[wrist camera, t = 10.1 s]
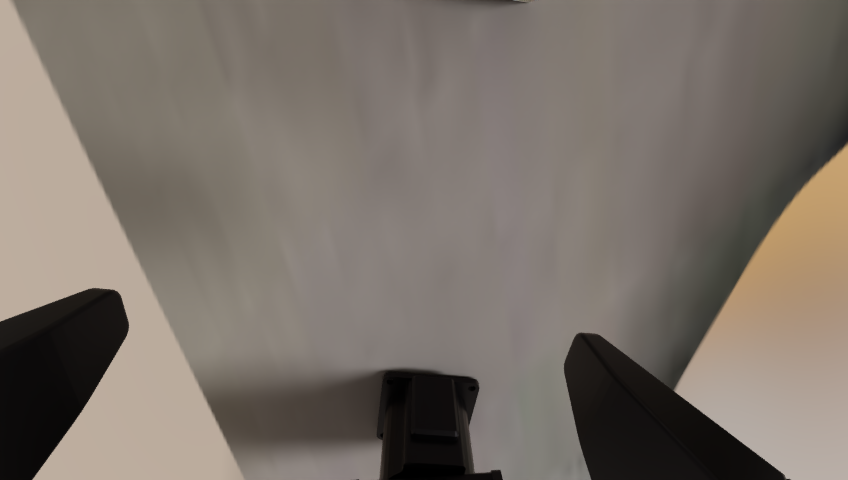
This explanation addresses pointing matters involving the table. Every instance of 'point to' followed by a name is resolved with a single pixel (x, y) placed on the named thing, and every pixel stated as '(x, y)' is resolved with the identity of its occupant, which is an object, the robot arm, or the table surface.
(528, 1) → the notch board
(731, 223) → the table surface
